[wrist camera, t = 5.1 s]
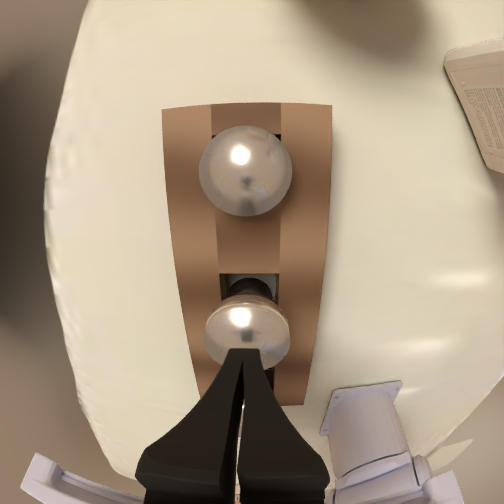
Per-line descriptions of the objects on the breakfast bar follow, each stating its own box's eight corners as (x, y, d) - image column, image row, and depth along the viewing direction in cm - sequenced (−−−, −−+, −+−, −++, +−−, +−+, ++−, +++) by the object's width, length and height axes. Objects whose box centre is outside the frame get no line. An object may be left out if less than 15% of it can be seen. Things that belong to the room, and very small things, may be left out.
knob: (284, 197, 18) (291, 216, 14) (215, 197, 18) (201, 217, 14) (284, 127, 16) (292, 125, 12) (212, 129, 16) (196, 127, 12)
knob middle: (283, 324, 19) (287, 371, 15) (217, 323, 19) (208, 370, 15) (285, 265, 17) (292, 308, 13) (212, 265, 17) (198, 307, 13)
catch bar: (300, 380, 25) (303, 404, 22) (206, 379, 25) (201, 403, 22) (320, 109, 16) (332, 105, 13) (177, 112, 16) (161, 109, 13)
